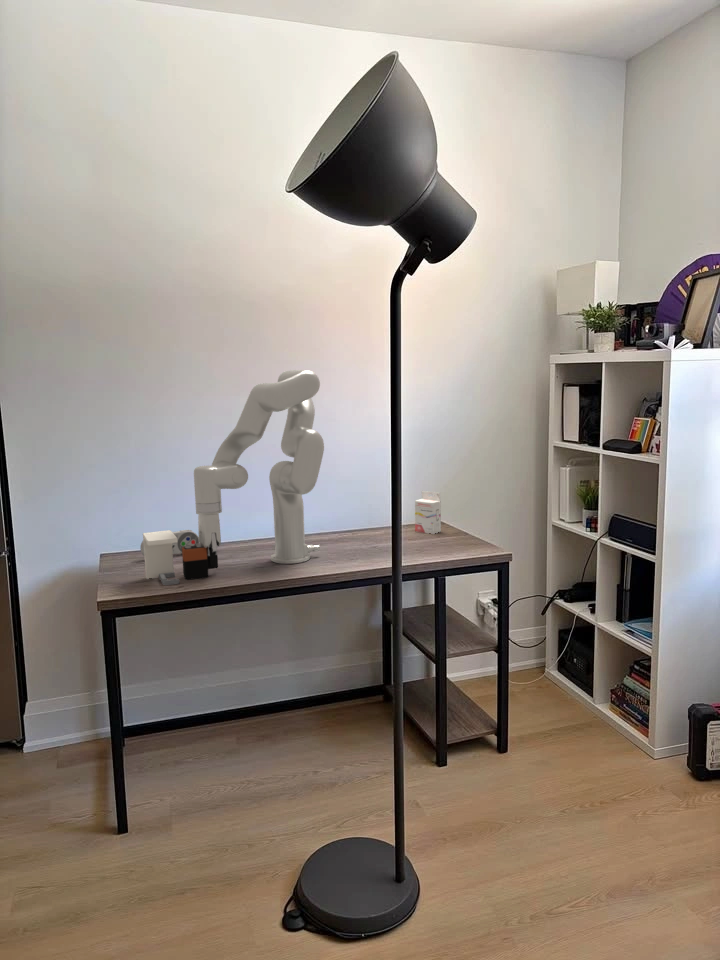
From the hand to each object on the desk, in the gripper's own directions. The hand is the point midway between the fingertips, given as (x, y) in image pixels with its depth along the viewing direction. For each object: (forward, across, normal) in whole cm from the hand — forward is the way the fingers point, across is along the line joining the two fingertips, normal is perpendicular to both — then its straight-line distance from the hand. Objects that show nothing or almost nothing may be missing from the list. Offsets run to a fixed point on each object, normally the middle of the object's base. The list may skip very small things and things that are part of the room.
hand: (212, 567), depth 220 cm
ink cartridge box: (+2, -19, +84) cm, 86 cm away
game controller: (+3, -29, -8) cm, 30 cm away
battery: (+2, 0, -5) cm, 6 cm away
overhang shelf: (+2, 0, -15) cm, 15 cm away
